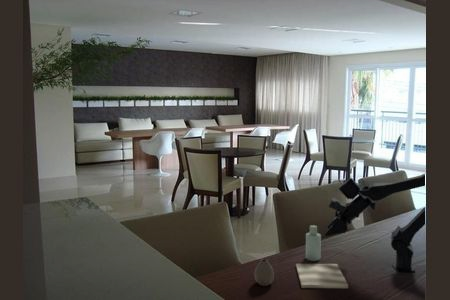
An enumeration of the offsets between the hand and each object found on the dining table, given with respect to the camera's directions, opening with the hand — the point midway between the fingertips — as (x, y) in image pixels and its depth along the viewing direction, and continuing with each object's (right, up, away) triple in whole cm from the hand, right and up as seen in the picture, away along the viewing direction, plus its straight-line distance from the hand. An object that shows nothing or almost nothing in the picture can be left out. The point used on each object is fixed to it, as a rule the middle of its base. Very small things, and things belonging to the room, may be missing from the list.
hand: (326, 231), depth 163 cm
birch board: (-6, -14, -14) cm, 21 cm away
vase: (-27, -15, -19) cm, 37 cm away
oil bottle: (-5, -12, +3) cm, 13 cm away
